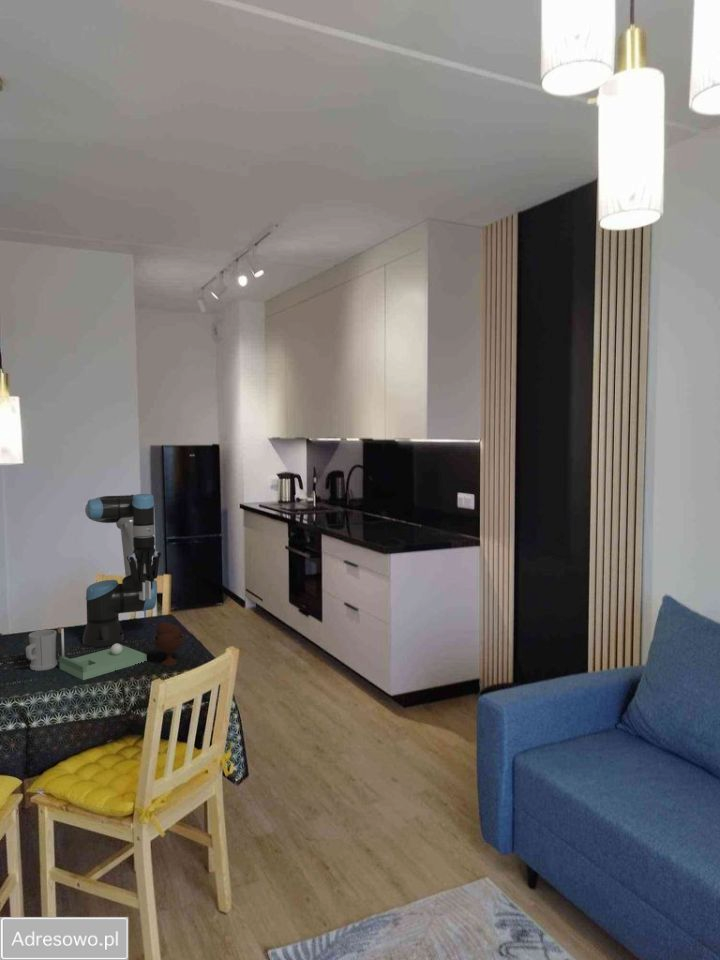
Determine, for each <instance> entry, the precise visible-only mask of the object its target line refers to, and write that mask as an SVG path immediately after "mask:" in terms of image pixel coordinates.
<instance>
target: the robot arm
mask: <svg viewBox="0 0 720 960" xmlns="http://www.w3.org/2000/svg"><path fill="white" fill-rule="evenodd" d="M84 511H85V515H86V516H87V518H88V519H89V520H91V521H93V522H97V523H103V524H115V525H116V527H117V529H119V530H120V535H121V543H122V544H121V545H122V546H121V547H122V553H123V554H122V555H123V564H124V565H123V566H124V575H125V576H124V577H123V578H122V580H121V583H119V582H118V580H117V579H106V580H102V581H97V582H94V583H92V584H90V585H88V587H87V588H86V591H85V594H86V595H85V596H86V597H85V601H86V625H85V629H84V632H83V636H82V645H84V646H86V647H91V648H100V647H102V648H103V647H109V646H110V647H111V646H112V645H114V644H116V643H118V644H120V643H122V642H123V641H124V637H125V633H124V630H123V628H122V626H121V623H120V621H119V619H120V618H119V614H124V613H125V614H126V613H138V612H145V611H150V610H151V611H152V610H153V609H154V608H156V604H157V597H158V596H157V595H158V583H157V582H158V581H157V580H155V579H157V578H158V573H159V564H160V559H161V558H160V557H161V555H162V552H160V551H158V550H156V549H155V545H156V543H155V539H156V538H155V536H154V535H155V499H154V495H153V494H150V493H139V494H138V493H136V494H129V495H128V494H126V495H105V496H98V497H96V498H92V499H89V500H87V504H86V505H85V510H84Z"/></svg>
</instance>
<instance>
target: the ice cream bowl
mask: <svg viewBox="0 0 720 960" xmlns="http://www.w3.org/2000/svg"><path fill="white" fill-rule="evenodd" d="M155 631H156V634H157V635H155V636H154V637H152V638H153V639H152V640H153V644H154V646H155V647H156V649H158V650H159V651H160V652H163V653H165V654H166V659H164V660H163V661H162V662H161V666H164V665H165V667H171V666H175V665H176V664H178V662H177V659H174V658H173V657H172V656H173V653H174V652H175V651H177V650H179V649H180V648H181V647H182V646H183V645H184V643H185V639H186V638H185V635H184V634H183V632H182V630H181V629H180V627H179V626H178V625H175V624H172V623H170V622H169V621H168V622H167V621H164V622H161V623H159V624H158V626H157V627H156V630H155Z"/></svg>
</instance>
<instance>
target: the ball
mask: <svg viewBox="0 0 720 960" xmlns="http://www.w3.org/2000/svg"><path fill="white" fill-rule="evenodd" d="M121 645H122V644H120V643H116V644H114V645H111V646H110V648H111V652H112V654H114V655H118V654H120V653H121V652H122V649H123V648H122V646H121Z"/></svg>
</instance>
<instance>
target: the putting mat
mask: <svg viewBox="0 0 720 960" xmlns="http://www.w3.org/2000/svg"><path fill="white" fill-rule="evenodd" d="M64 631H65V630H64V628H63V627H61V626H60V627H57V633H58V634H61V635H60V637H61V640H60V641H61V655H60V656H59V670H61V671H63V672H65V673H67V674H69V675H71V676H73V677H75V678H77V679H79V680H82V681H86V680H89V679H92V678H95V677H98V676H103V675H104V674H105V675H106V674H109V673H112V672H115V670H116V671H118V670H122V669H124V668H128V667H133V666H135V664H136V665H138V663H139V664H141V662H142V663H145V662H144V661H146V662H148V661H147V660H148V659H147V655H148V654H147V653H145V652H142V651H138V650H136V649H133V648H131V647H128V646H126V645H123V644H121V646H122V648H123V649H122V652H121V653H120V654H118V655H114V654H112V652H111V647H110V648H106V649H102V650H99V651H96V652H92V653H89V654H83V655H81V656H77V657H73V658H69V657H66V656H65V632H64Z"/></svg>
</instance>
